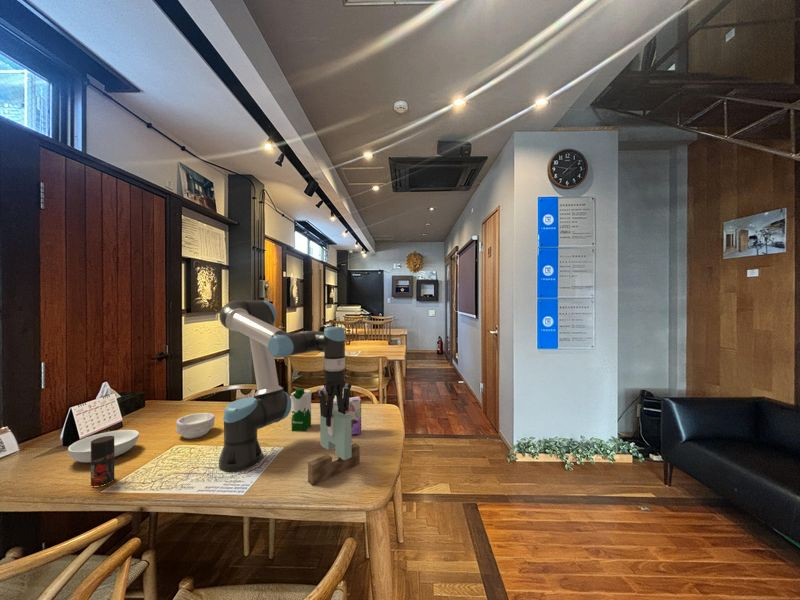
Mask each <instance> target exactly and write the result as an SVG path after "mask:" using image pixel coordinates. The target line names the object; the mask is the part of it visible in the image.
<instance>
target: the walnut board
mask: <svg viewBox="0 0 800 600" xmlns="http://www.w3.org/2000/svg"><path fill="white" fill-rule="evenodd" d="M360 448H361V446H360V445H359V444H358V443H352V457H351V458H349V459H347V460H343V459H341V458H340V457H338V456H337V459H336V460H335V459H334V460H333V457H332V456H331V455H330V454H324V455H322V456H319V457H317V458H315V459H312V460H309V461H308V462H307V482H308V483H309V484H310V485H311V486H316V485H318V484H319V483H322V482H323V481H326V480H328V479H330V478H332V477H334V476H336V475H339V474H341V473H343V472H345V471H348V470H349V469H352V468H354V467H356V466H359V465H360V464H361V463H360V462H361V461H360V460H361V459H360V456H361V455H360V452H361V449H360Z"/></svg>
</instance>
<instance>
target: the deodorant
mask: <svg viewBox="0 0 800 600" xmlns="http://www.w3.org/2000/svg"><path fill="white" fill-rule="evenodd" d="M112 480H114V481H115V457H114V436H104V437H100V438H97V439H94V440H93V441H91V462H90V487H91V486H93V487H94V486H101V485H104V484H107V483H109V482H111V481H112ZM111 483H112V482H111ZM107 485H108V484H107ZM93 487H92V488H93Z"/></svg>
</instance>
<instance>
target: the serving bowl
mask: <svg viewBox="0 0 800 600" xmlns="http://www.w3.org/2000/svg"><path fill="white" fill-rule="evenodd" d="M104 436H114V458H116V457H118V456H120V455H123V454H124V453H127V452H128V451H129V450H131V449H132V448H133V447H134V446H135V445H136V443H137V442H138V439H139V436H140V432H139V431H138V430H135V429H119V430H118V429H117V430H112V431H107V432H106V431H105V432H102V433H97V434H93V435H90V436H87V437H84V438H82V439H79V440H77V441H75V442H73V443H72V444H70V445H69V446H68V449H67V452H68V454H69V457H70V458H71V459H72V460H73V461H76V462H78V463H91V441H93V440H94V439H97V438H100V437H104Z"/></svg>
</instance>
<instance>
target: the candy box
mask: <svg viewBox="0 0 800 600" xmlns="http://www.w3.org/2000/svg"><path fill="white" fill-rule="evenodd" d="M333 409H334V410H336V411H338V405H337V398H334V401H333ZM345 415H347V416H349V417H351V436H356V435H357V436H358V435H362V399H361V396H353V397H349V410H348V411H346V414H345Z"/></svg>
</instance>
